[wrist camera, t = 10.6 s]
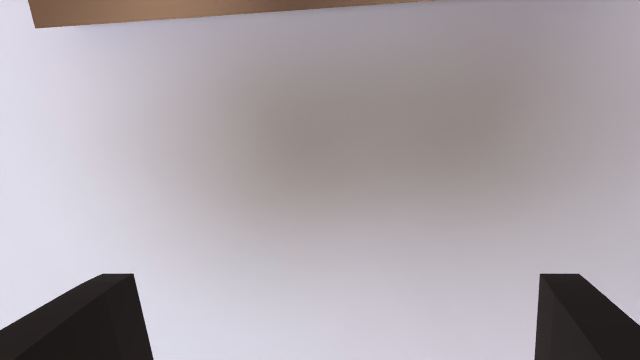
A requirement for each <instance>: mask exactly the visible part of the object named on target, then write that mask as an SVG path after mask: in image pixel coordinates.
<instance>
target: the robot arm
mask: <svg viewBox="0 0 640 360" xmlns="http://www.w3.org/2000/svg"><path fill="white" fill-rule="evenodd" d="M0 360H153V355H152V351H151V347H150V343H149V338H148V334H147V330H146V325H145V321H144V317H143V313H142V308H141V304H140V300H139V296H138V291H137V287H136V283H135V278H134V274H101V275H99V276H97V277H94V278H92V279H90V280H88V281H86V282H84V283H82V284H80V285H79V286H77V287H75V288H73V289H71V290H69V291H68V292H66V293H64V294H62V295H61V296H59V297H57V298H55V299H54V300H52V301H50V302H48V303H47V304H45V305H43V306H41V307H40V308H38V309H36V310H35V311H33V312H31V313H29V314H28V315H26V316H24V317H22V318H21V319H19V320H17V321H15V322H14V323H12V324H10V325H9V326H7V327H5V328H3V329H2V330H0ZM535 360H640V326H639V325H638V324H637V323H636V322H635V321H633V320H632V319H631V318H630V317H629V316H628V315H626V314H625V313H624V312H623V311H622V310H621V309H619V308H618V307H617V306H616V305H615V304H614V303H612V302H611V301H610V300H609V299H608V298H607V297H606V296H604V295H603V294H602V293H601V292H600V291H599V290H597V289H596V288H595V287H594V286H593V285H592V284H591V283H589V282H588V281H587V280H586V279H585V278H583V277H582V276H581V275H580V274H540V282H539V298H538V314H537V330H536V346H535Z"/></svg>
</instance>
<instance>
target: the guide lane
mask: <svg viewBox="0 0 640 360" xmlns="http://www.w3.org/2000/svg"><path fill="white" fill-rule="evenodd" d="M418 1H433V0H28V2H29V6H30V10H31V14H32V17H33V21H34V25H35V28H47V27H62V26H76V25H90V24H104V23H119V22H133V21H147V20H162V19H176V18H190V17H204V16H219V15H233V14H247V13H261V12H276V11H290V10H304V9H319V8H333V7H347V6H361V5H376V4H390V3H404V2H418Z"/></svg>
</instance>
